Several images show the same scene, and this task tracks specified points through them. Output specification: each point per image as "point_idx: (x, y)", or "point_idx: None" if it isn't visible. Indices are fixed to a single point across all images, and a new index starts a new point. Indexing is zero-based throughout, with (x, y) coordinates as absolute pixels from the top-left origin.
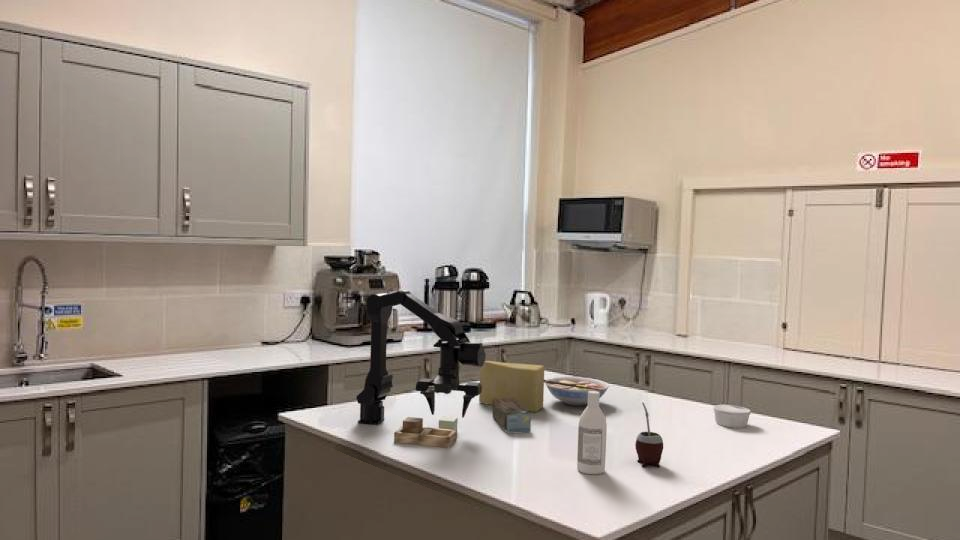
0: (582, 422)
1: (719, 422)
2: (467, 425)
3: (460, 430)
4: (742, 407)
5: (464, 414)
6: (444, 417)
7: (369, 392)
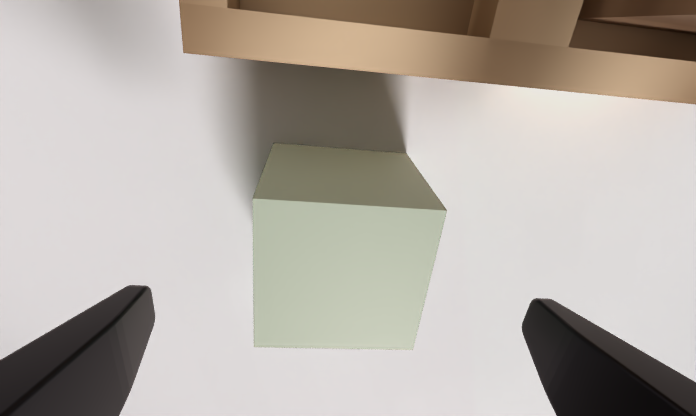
0: None
1: None
2: (246, 402)
3: None
4: None
5: (93, 316)
6: (392, 318)
7: None
